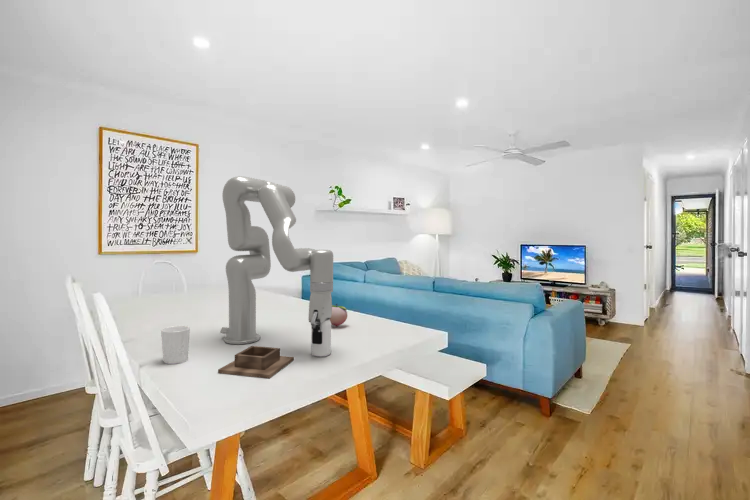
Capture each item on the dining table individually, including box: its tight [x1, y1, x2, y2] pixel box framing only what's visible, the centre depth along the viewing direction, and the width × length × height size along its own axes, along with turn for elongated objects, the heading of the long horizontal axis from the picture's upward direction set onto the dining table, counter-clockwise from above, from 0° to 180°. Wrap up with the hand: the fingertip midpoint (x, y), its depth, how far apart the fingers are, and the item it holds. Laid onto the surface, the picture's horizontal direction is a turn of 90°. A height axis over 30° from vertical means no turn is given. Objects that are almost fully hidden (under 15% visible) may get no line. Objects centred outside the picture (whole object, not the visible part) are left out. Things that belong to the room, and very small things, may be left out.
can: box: [310, 318, 332, 358], centre depth 129 cm, size 6×6×12 cm
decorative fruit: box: [330, 303, 348, 328], centre depth 167 cm, size 9×8×10 cm
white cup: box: [160, 325, 191, 365], centre depth 121 cm, size 8×8×10 cm
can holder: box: [217, 345, 295, 379], centre depth 117 cm, size 16×16×4 cm
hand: (321, 340), depth 129 cm, fingers closed on can, 6 cm apart
